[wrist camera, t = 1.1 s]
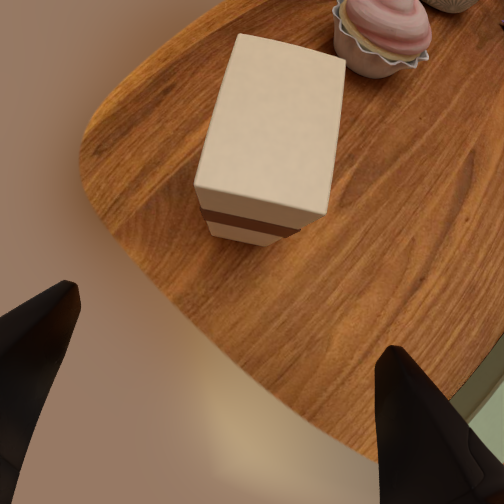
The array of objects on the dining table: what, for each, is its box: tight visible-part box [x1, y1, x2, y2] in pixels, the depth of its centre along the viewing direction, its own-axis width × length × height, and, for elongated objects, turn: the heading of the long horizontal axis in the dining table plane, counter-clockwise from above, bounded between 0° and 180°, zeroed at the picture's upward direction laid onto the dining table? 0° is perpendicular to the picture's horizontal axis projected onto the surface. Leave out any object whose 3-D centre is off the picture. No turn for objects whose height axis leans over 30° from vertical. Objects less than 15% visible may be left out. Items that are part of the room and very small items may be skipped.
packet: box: [194, 34, 346, 247], centre depth 16 cm, size 6×4×14 cm
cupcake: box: [332, 0, 432, 79], centre depth 20 cm, size 9×9×10 cm
